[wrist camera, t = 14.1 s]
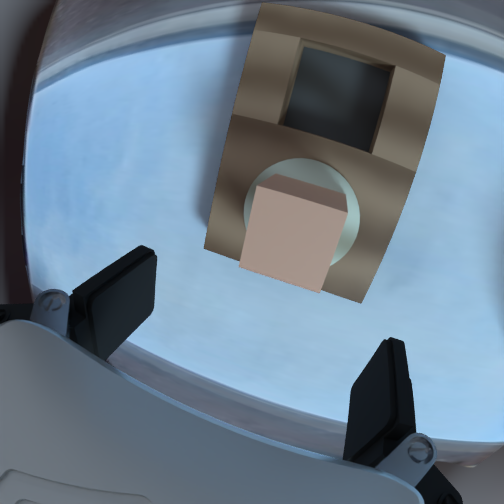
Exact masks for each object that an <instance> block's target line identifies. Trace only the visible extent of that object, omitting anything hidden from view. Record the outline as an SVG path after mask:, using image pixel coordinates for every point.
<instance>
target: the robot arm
mask: <svg viewBox="0 0 504 504" xmlns="http://www.w3.org/2000/svg"><path fill="white" fill-rule="evenodd" d="M156 267H157V255H155V252H154V250H152V249H150V248H148V247H145V246H143V245H140V246H138V247H137V248H135V249H134V250H132V251H130V252H129V253H127V254H126V255H124V256H123V257H121V258H120V259H118V260H117V261H115V262H114V263H112V264H110V265H109V266H107V267H106V268H104V269H103V270H102V271H100V272H99V273H97V274H96V275H94V276H93V277H91V278H90V279H88V280H87V281H85V282H84V283H82V284H81V285H80V286H78V287H77V288H75V289H74V290H72V292H73V294H71V295H70V296H68V294H67V293H66V292H64V291H62V290H58V289H49V290H46V291H43V292H42V293H40V294H39V295H38V296H37V297H36V299H35V301H34V303H33V304H3V305H2V304H1V305H0V504H463V501H462V497H461V495H460V494H459V492H458V491H457V490H456V489H455V488H454V487H453V486H452V484H451V483H450V482H449V481H448V480H447V479H446V478H445V476H443V474H442V473H441V472H440V471H439V470H438V469H437V467H436V466H435V465H434V462H435V460H436V458H437V449H436V446H435V444H434V442H433V441H432V440H431V438H429V437H428V436H427V435H424V434H422V433H416V423H415V410H414V400H413V391H412V383H411V379H410V378H409V371H408V364H407V357H406V350H405V344H404V342H403V341H401V340H398V339H395V338H392V337H390V338H389V339H388V340H386V339H384V340H383V341H382V343H381V344H380V346H379V347H378V349H377V350H376V352H375V353H374V355H373V356H372V358H371V359H370V361H369V362H368V364H367V365H366V367H365V368H364V370H363V371H362V373H361V374H360V375H359V377H358V378H357V380H356V381H355V382H354V384H353V386H352V388H351V394H350V405H349V414H348V423H347V432H346V439H345V447H344V454H343V460H341V459H337V458H333V457H329V456H325V455H322V454H318V453H314V452H311V451H307V450H304V449H300V448H297V447H293V446H290V445H287V444H284V443H281V442H277V441H274V440H271V439H268V438H265V437H263V436H260V435H257V434H254V433H251V432H249V431H246V430H243V429H241V428H238V427H236V426H233V425H230V424H228V423H225V422H223V421H221V420H218V419H216V418H213V417H211V416H209V415H206V414H204V413H202V412H200V411H197V410H195V409H193V408H191V407H189V406H187V405H184V404H182V403H180V402H178V401H176V400H174V399H172V398H170V397H168V396H166V395H164V394H162V393H160V392H158V391H156V390H154V389H152V388H150V387H149V386H147V385H145V384H143V383H141V382H139V381H138V380H136V379H134V378H132V377H130V376H129V375H127V374H125V373H123V372H122V371H120V370H118V369H117V368H115V367H113V366H112V365H110V364H108V363H107V362H105V360H106V359H107V358H108V357H109V356H110V355H111V354H112V353H113V352H114V351H115V350H116V349H117V348H118V347H119V346H120V345H121V344H122V343H123V342H124V341H125V340H126V339H127V338H128V337H129V336H130V335H131V334H132V333H133V332H134V331H135V330H136V329H137V328H138V327H139V326H140V325H141V324H142V323H143V322H144V321H145V320H146V319H147V318H148V317H149V316H150V315H151V313H152V312H153V309H154V299H155V281H156Z"/></svg>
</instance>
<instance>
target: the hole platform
mask: <svg viewBox="0 0 504 504" xmlns="http://www.w3.org/2000/svg"><path fill="white" fill-rule="evenodd" d="M445 57H446V55H444V54H442V53H440V52H438V51H436V50H434V49H432V48H429V47H427V46H425V45H423V44H420V43H418V42H416V41H413V40H411V39H408V38H406V37H403V36H401V35H398V34H395V33H393V32H390V31H387V30H384V29H381V28H378V27H375V26H372V25H369V24H366V23H362V22H359V21H356V20H352V19H348V18H345V17H341V16H337V15H333V14H329V13H324V12H320V11H315V10H310V9H304V8H299V7H293V6H287V5H280V4H272V3H264V2H262V4H261V7H260V11H259V14H258V18H257V21H256V24H255V28H254V31H253V35H252V38H251V42H250V46H249V49H248V53H247V57H246V60H245V64H244V68H243V72H242V76H241V79H240V83H239V87H238V91H237V95H236V99H235V103H234V107H233V111H232V116H231V120H230V124H229V128H228V133H227V137H226V141H225V146H224V150H223V155H222V159H221V164H220V168H219V173H218V178H217V183H216V187H215V192H214V197H213V202H212V207H211V212H210V217H209V222H208V228H207V233H206V238H205V244H204V249H207V250H209V251H212V252H215V253H218V254H220V255H223V256H226V257H229V258H232V259H234V260H237V261H240V258H241V254H242V249H243V245H244V240H245V236H246V231H247V227H248V222H249V218H250V213H251V209H252V204H253V200H254V195H255V191H256V186H257V185H258V184H260V183H261V182H263V181H264V180H266V179H268V178H269V177H271V176H272V175H274V174H275V173H276V174H279V175H283V176H287V177H290V178H294V179H297V180H301V181H304V182H307V183H311V184H314V185H317V186H321V187H324V188H327V189H330V190H334V191H337V192H340V193H343V194H346V199H347V208H348V215H347V218H346V221H345V224H344V227H343V230H342V233H341V236H340V239H339V242H338V245H337V247H336V250H335V253H334V256H333V259H332V262H331V264H330V267H329V270H328V272H327V275H326V278H325V281H324V283H323V286H322V288H321V290H323V291H326V292H329V293H332V294H334V295H337V296H340V297H343V298H346V299H349V300H352V301H355V302H358V303H362V301H363V299H364V297H365V295H366V293H367V291H368V289H369V287H370V285H371V283H372V281H373V278H374V276H375V274H376V272H377V270H378V268H379V265H380V263H381V261H382V259H383V256H384V254H385V252H386V249H387V247H388V245H389V242H390V240H391V238H392V235H393V233H394V230H395V228H396V225H397V223H398V220H399V218H400V215H401V213H402V210H403V207H404V205H405V202H406V199H407V196H408V194H409V191H410V188H411V185H412V182H413V179H414V177H415V174H416V171H417V167H418V164H419V161H420V158H421V155H422V152H423V148H424V145H425V142H426V138H427V135H428V131H429V128H430V124H431V120H432V116H433V113H434V109H435V104H436V100H437V96H438V92H439V87H440V83H441V78H442V73H443V68H444V62H445Z"/></svg>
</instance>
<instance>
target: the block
mask: <svg viewBox="0 0 504 504" xmlns="http://www.w3.org/2000/svg"><path fill="white" fill-rule="evenodd" d="M347 215H348V208H347V199H346V194H343V193H340V192H337V191H334V190H330V189H327V188H324V187H321V186H317V185H314V184H311V183H307V182H304V181H301V180H297V179H294V178H290V177H287V176H283V175H279V174H276V173H275V174H274V175H272V176H271V177H269V178H268V179H266V180H264V181H263V182H261V183H260V184H258V185H257V186H256V191H255V195H254V200H253V204H252V209H251V213H250V218H249V222H248V227H247V231H246V236H245V240H244V245H243V249H242V254H241V258H240V263H239V267H241V268H244V269H247V270H250V271H253V272H256V273H259V274H262V275H265V276H268V277H271V278H274V279H277V280H280V281H283V282H286V283H289V284H292V285H295V286H299V287H302V288H305V289H308V290H311V291H314V292H317V293H320V291H321V288H322V286H323V283H324V281H325V278H326V275H327V272H328V270H329V267H330V264H331V262H332V259H333V256H334V253H335V250H336V247H337V245H338V242H339V239H340V236H341V233H342V230H343V227H344V224H345V221H346V218H347Z"/></svg>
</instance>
